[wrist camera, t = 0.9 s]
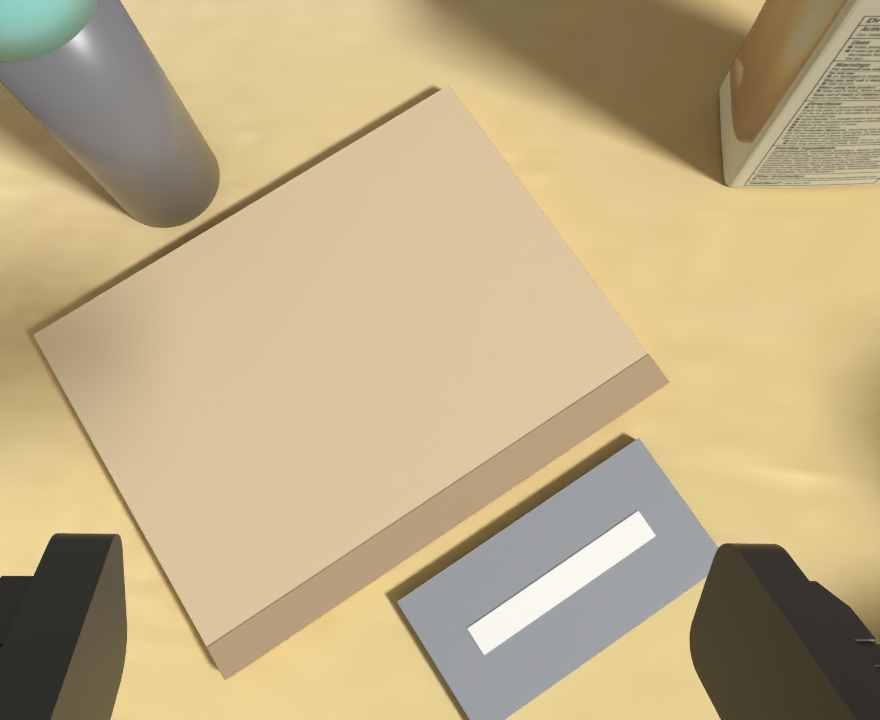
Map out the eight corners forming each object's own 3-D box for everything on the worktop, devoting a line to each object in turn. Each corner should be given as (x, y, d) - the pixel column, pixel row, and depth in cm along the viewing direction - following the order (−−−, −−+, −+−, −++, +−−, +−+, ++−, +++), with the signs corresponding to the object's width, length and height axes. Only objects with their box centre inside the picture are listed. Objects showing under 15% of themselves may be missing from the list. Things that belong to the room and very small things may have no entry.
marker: (188, 110, 32) (16, -174, 20) (242, 192, 32) (98, -49, 19) (88, 168, 32) (-154, -85, 19) (140, 254, 31) (-78, 48, 18)
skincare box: (875, 86, 32) (1121, -190, 20) (887, 190, 31) (1154, -36, 19) (708, 87, 32) (855, -188, 20) (715, 190, 31) (874, -35, 19)
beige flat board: (449, 93, 32) (448, 84, 32) (770, 528, 28) (777, 527, 28) (41, 339, 30) (32, 334, 30) (323, 844, 26) (320, 851, 26)
